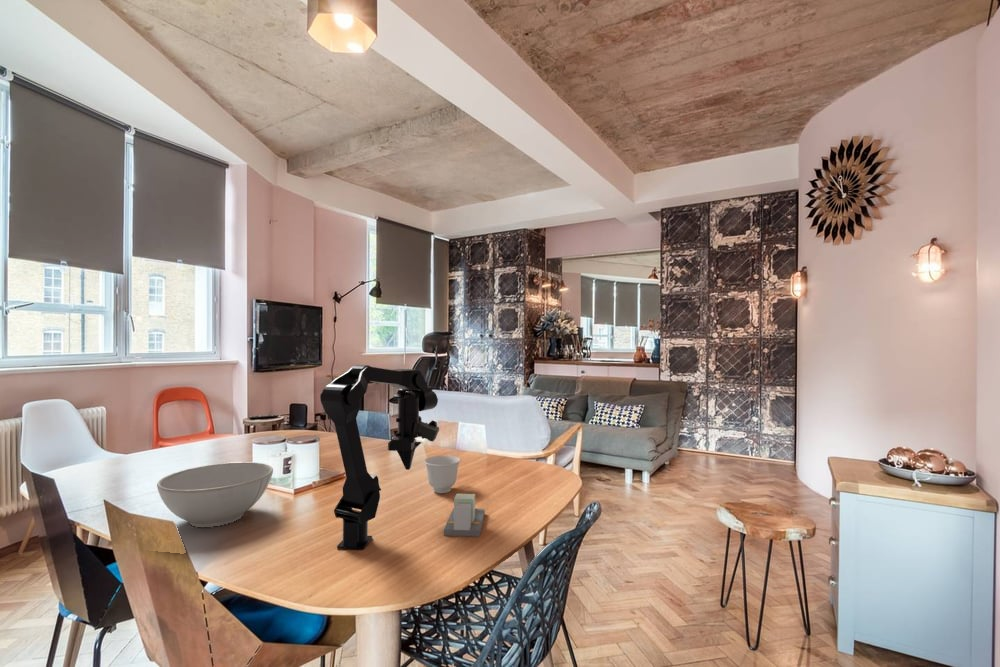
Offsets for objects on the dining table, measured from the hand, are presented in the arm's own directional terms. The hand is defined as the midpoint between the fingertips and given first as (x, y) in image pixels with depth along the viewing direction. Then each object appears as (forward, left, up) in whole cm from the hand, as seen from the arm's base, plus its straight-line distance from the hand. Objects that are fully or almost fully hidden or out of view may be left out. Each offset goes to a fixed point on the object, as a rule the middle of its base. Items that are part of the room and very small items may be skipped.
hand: (407, 469), depth 125 cm
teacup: (+24, -6, -13) cm, 28 cm away
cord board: (-5, -17, -13) cm, 22 cm away
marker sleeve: (-6, -17, -11) cm, 21 cm away
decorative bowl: (-6, +51, -13) cm, 53 cm away
